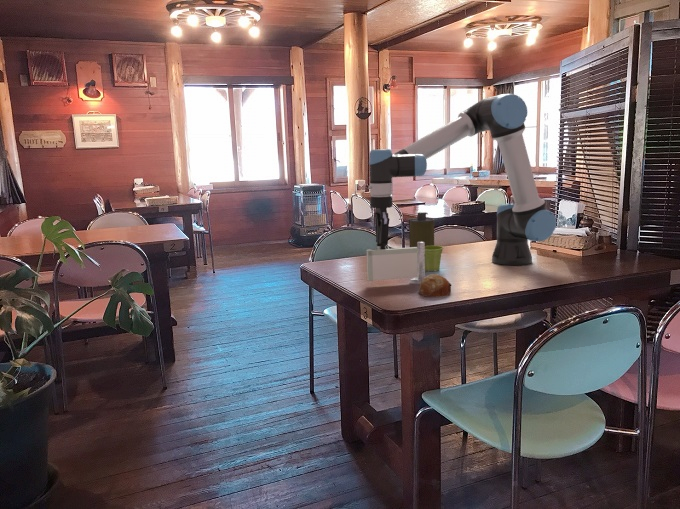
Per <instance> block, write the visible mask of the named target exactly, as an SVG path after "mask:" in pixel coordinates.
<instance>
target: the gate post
mask: <svg viewBox="0 0 680 509" xmlns="http://www.w3.org/2000/svg"><path fill="white" fill-rule="evenodd" d="M417 244H418V277H416V278H410V279H409V284H412V285H420V282H421V281H422V279H424V278H425V277H426V271H425V242H417Z"/></svg>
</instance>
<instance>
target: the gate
mask: <svg viewBox="0 0 680 509" xmlns="http://www.w3.org/2000/svg"><path fill="white" fill-rule="evenodd" d="M417 252H418V248H417V247H410V246H409V247H400V248H399V247H398V248H386V249H379V250H378V249H366V273H367V274H366V275H367V276H366V278H367V282H374V281H386V280H398V279H399V280H402V279H413V278H416V277H418V259H417Z"/></svg>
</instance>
